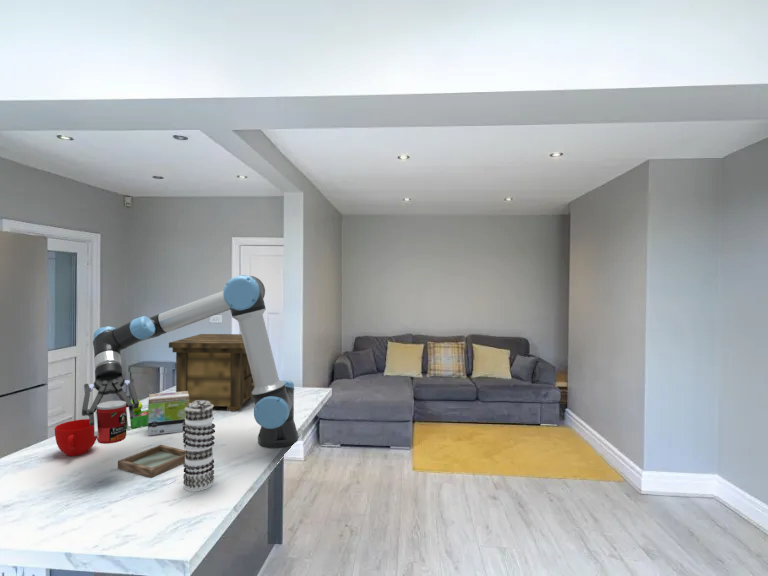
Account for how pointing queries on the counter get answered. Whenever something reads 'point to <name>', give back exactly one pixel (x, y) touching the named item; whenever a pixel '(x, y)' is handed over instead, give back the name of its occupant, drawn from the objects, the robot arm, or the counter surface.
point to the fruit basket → (139, 417)
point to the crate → (213, 369)
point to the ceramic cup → (75, 437)
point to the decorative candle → (198, 446)
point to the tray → (153, 461)
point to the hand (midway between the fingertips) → (112, 430)
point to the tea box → (167, 412)
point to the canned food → (111, 422)
